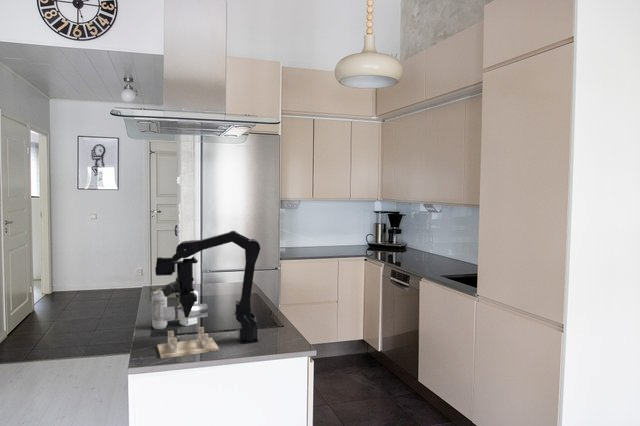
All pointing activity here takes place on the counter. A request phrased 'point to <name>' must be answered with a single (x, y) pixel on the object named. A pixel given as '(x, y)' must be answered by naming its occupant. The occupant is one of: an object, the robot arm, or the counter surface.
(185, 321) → the syrup box
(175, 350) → the collar stand
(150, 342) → the counter surface
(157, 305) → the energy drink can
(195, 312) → the metal tube
